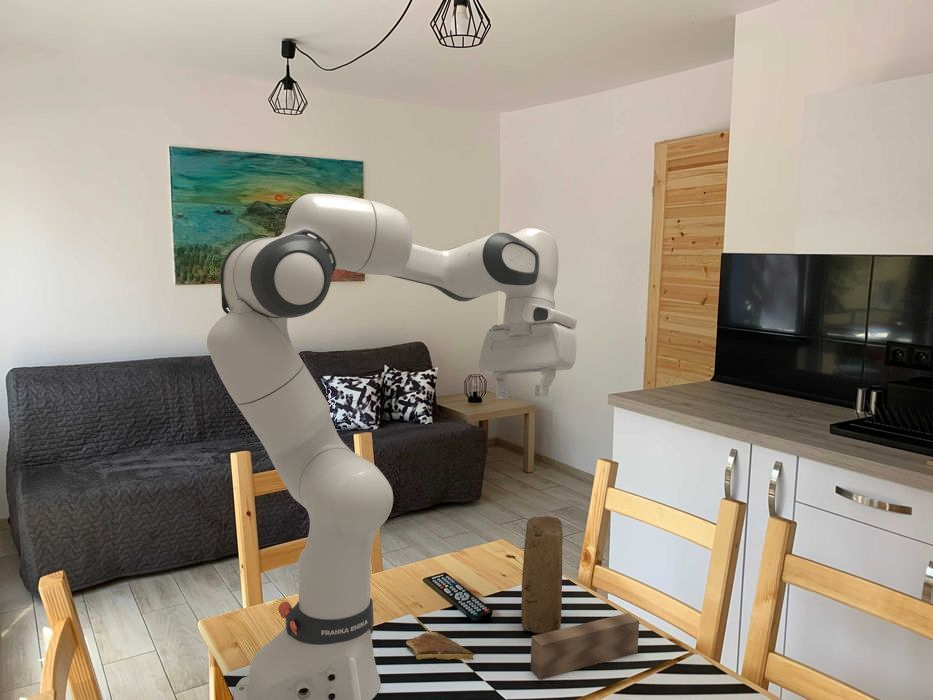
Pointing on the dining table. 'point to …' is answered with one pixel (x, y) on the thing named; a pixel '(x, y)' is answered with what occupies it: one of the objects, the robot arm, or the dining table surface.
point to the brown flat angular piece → (437, 647)
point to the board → (584, 645)
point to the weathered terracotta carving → (542, 575)
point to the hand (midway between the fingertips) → (520, 397)
